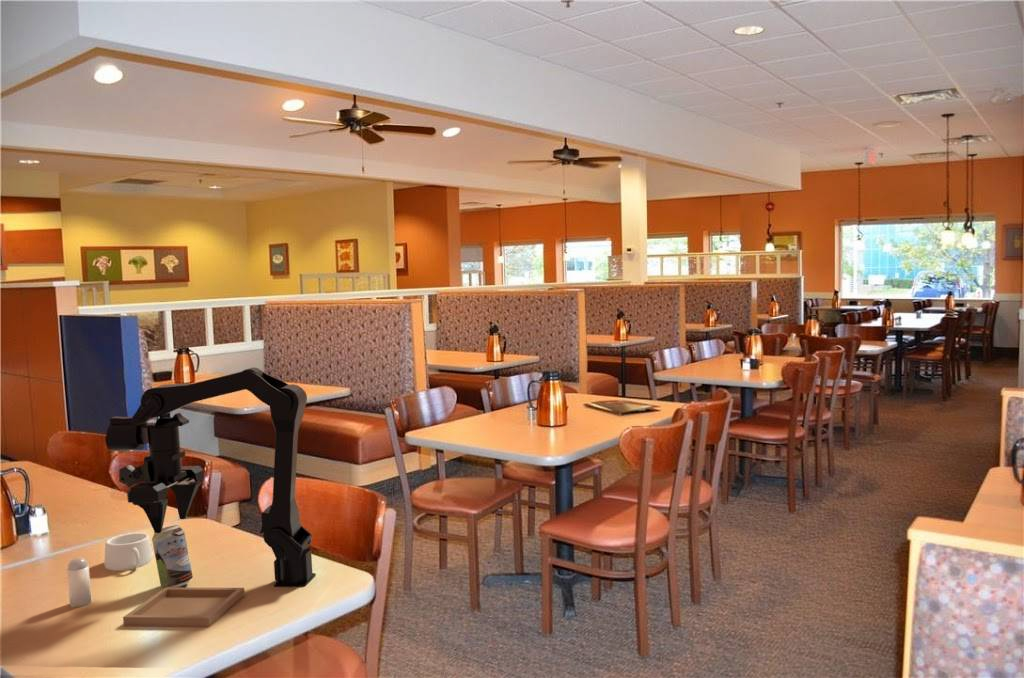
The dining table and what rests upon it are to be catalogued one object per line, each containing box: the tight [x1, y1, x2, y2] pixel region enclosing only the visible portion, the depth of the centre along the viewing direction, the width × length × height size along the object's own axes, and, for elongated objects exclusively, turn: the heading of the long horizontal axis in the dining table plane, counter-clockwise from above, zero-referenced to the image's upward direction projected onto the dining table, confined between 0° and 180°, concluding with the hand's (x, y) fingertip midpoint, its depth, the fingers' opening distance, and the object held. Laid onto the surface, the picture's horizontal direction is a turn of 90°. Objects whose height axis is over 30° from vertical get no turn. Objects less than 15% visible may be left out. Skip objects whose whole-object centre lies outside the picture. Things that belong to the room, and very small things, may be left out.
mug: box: [103, 532, 154, 572], centre depth 175 cm, size 12×10×6 cm
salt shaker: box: [67, 556, 92, 608], centre depth 154 cm, size 4×4×9 cm
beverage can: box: [151, 524, 193, 588], centre depth 162 cm, size 6×7×12 cm
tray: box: [122, 586, 246, 628], centre depth 149 cm, size 16×14×2 cm
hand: (170, 525), depth 161 cm, fingers open, 9 cm apart
